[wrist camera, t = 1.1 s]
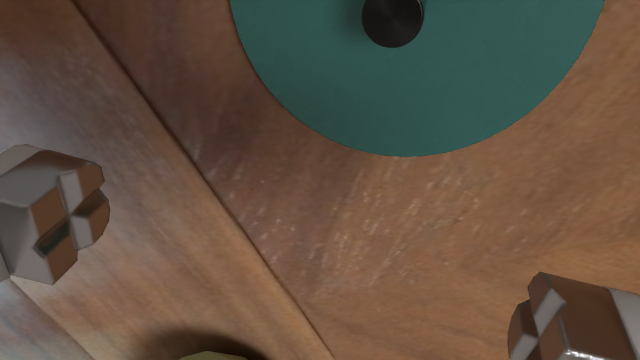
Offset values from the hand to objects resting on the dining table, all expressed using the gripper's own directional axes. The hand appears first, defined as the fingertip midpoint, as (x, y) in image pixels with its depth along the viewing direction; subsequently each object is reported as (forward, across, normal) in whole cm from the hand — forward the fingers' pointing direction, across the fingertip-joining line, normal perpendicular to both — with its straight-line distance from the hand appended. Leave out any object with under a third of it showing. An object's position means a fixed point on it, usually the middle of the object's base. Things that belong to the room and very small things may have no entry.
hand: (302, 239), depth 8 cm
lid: (+16, 0, -1) cm, 16 cm away
